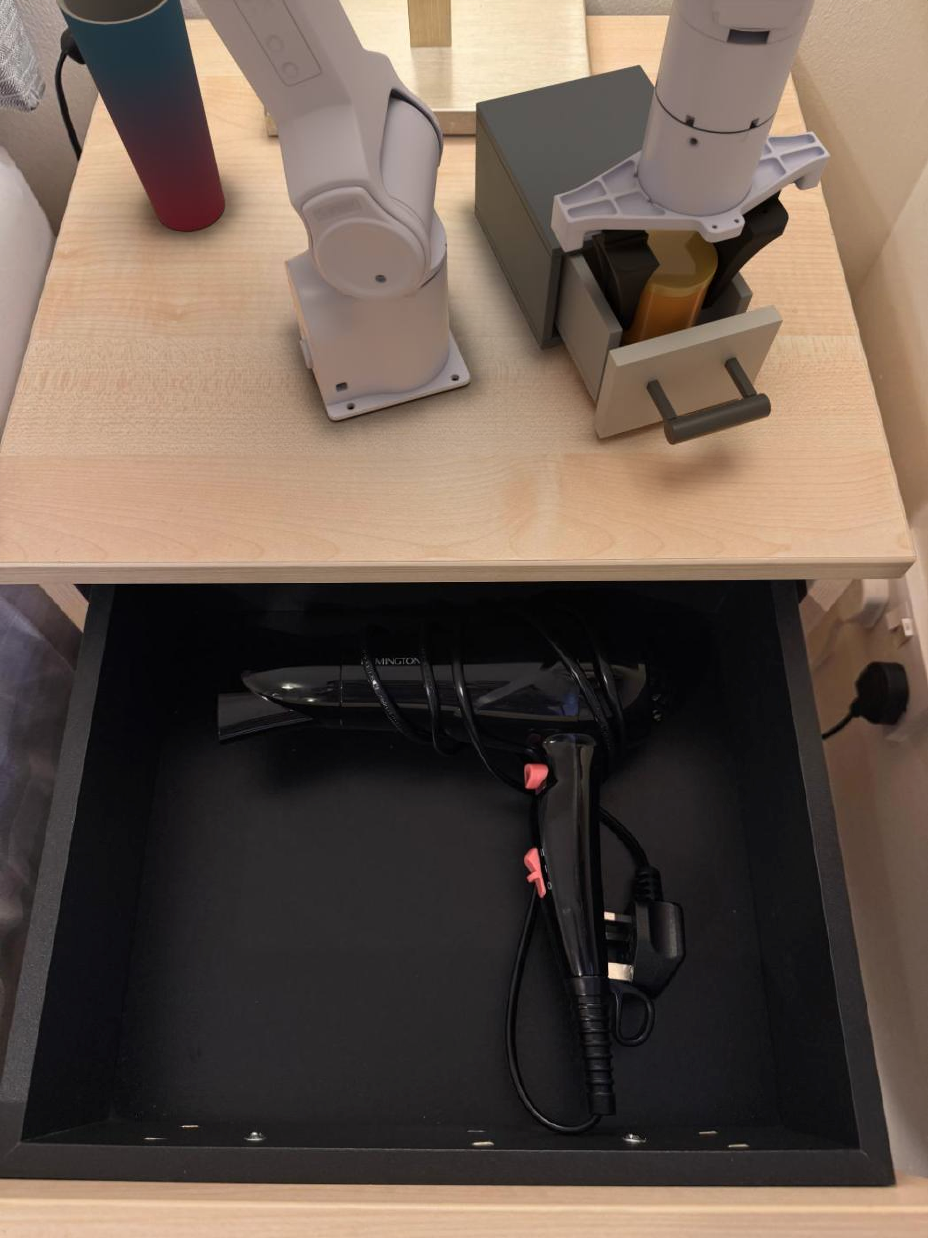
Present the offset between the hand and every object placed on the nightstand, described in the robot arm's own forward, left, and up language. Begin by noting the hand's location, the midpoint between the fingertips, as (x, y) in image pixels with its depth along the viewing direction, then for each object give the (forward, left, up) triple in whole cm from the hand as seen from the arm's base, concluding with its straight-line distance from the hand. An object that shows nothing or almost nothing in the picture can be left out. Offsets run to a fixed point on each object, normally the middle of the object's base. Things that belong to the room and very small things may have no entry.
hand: (657, 308), depth 53 cm
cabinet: (0, +10, -5) cm, 12 cm away
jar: (0, 0, -1) cm, 1 cm away
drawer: (0, -1, -5) cm, 5 cm away
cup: (-25, +24, -6) cm, 35 cm away
